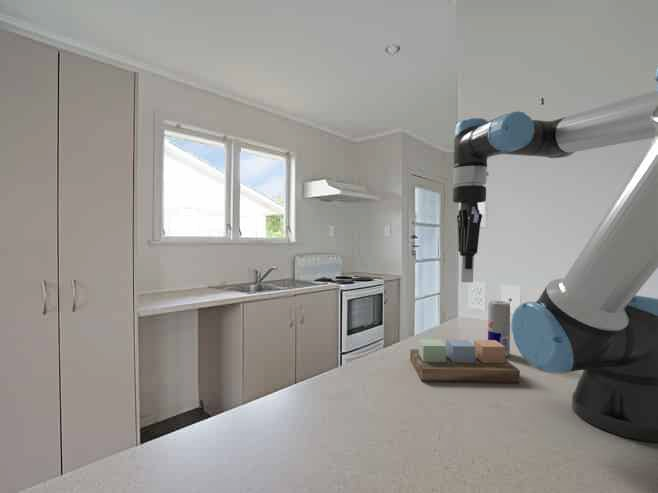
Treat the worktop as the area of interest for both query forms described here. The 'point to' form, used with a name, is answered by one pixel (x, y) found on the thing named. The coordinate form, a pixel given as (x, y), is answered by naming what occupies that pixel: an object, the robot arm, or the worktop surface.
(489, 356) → the terracotta button
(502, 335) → the beverage can
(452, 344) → the slate button
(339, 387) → the worktop surface
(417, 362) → the board
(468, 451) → the worktop surface
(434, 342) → the sage button
